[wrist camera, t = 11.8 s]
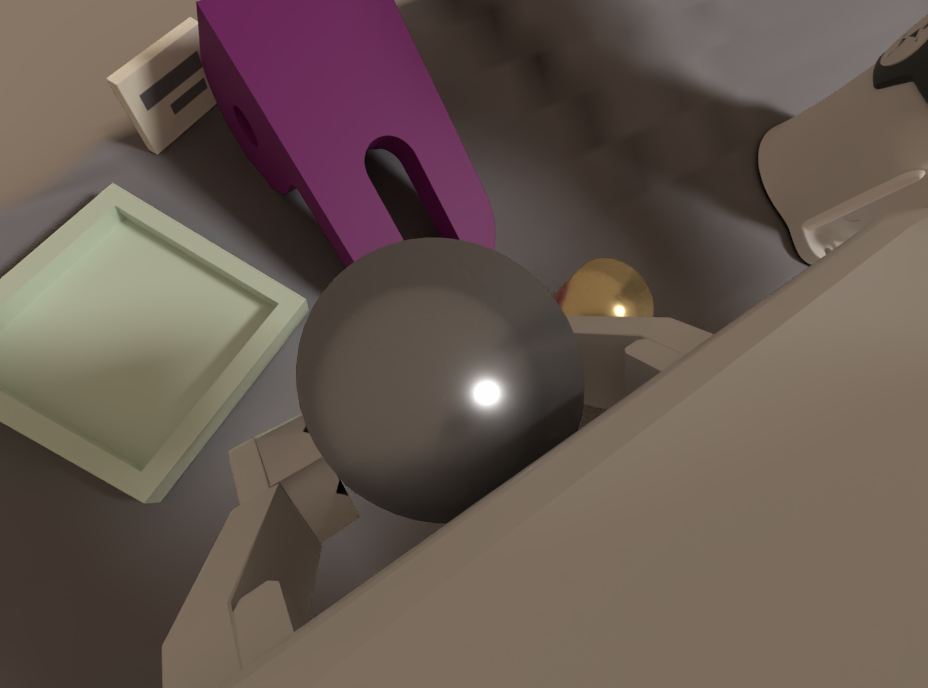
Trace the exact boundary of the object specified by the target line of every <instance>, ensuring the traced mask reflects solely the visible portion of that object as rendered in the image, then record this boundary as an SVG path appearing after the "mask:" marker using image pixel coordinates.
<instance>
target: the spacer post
mask: <svg viewBox="0 0 928 688" xmlns="http://www.w3.org/2000/svg"><path fill="white" fill-rule="evenodd" d="M296 384H297V392H298V398H299V404H300V409H301V412H302V415H303V418H304V421H305V425H306V427H307V429H308V432H309V434H310V436H311V438H312V440H313V442H314V444H315V446H316V448H317V449H318V451H319V452H320V454H321V455H322V457H323V458H324V460H325V461H326V463H327V464H328V465H329V466H330V467H331V469H332V470H333V471H334V472H335V473H336V474H337V475H338V477H339V478H340V479H341V480H342V481H343V482H344V483H345V484H346V485H347V486H348V487H349V488H350V489H351V490H352V491H354V492H355V493H357V494H358V495H360V496H362V497H363V498H365V499H367V500H368V501H370V502H371V503H373V504H375V505H376V506H379V507H381V508H383V509H385V510H388V511H390V512H392V513H394V514H396V515H400V516H404V517H407V518H411V519H414V520H418V521H425V522H433V523H448V522H450V521H451V520H453V519H454V518H455V517H457V516H458V515H460V514H461V513H462V512H464V511H465V510H467V509H468V508H469V507H471V506H472V505H474V504H475V503H476V502H478V501H479V500H481V499H482V498H483V497H485V496H486V495H488V494H489V493H491V492H492V491H493V490H495V489H496V488H498V487H499V486H500V485H502V484H503V483H505V482H506V481H507V480H509V479H510V478H512V477H513V476H515V475H516V474H517V473H519V472H520V471H522V470H523V469H524V468H526V467H527V466H529V465H530V464H531V463H533V462H534V461H536V460H537V459H539V458H540V457H541V456H543V455H544V454H546V453H547V452H548V451H550V450H551V449H553V448H554V447H556V446H557V445H558V444H560V443H561V442H563V441H564V440H565V439H567V438H568V437H570V436H571V435H572V434H574V433H575V432H577V430H578V427H579V424H580V420H581V415H582V410H583V404H584V385H585V384H584V372H583V364H582V359H581V354H580V350H579V347H578V344H577V341H576V337H575V334H574V332H573V330H572V328H571V326H570V323H569V321H568V319H567V317H566V316H565V314H564V312H563V311H562V309H561V307H560V306H559V304H558V303H557V301H556V300H555V299H554V298H553V296H552V295H551V294H550V292H549V291H548V290H547V289H546V288H545V287H544V286H543V285H542V284H541V283H540V282H539V281H538V280H537V279H536V278H535V277H534V276H533V275H532V274H531V273H529V272H528V271H527V270H526V269H525V268H523V267H522V266H520V265H519V264H517V263H516V262H514V261H513V260H511V259H510V258H508V257H506V256H504V255H502V254H500V253H498V252H496V251H494V250H492V249H489V248H487V247H484V246H481V245H479V244H475V243H471V242H467V241H463V240H457V239H450V238H430V237H427V238H417V239H409V240H405V241H400V242H396V243H392V244H389V245H387V246H384V247H381V248H378V249H376V250H374V251H372V252H370V253H368V254H366V255H364V256H362V257H361V258H359V259H358V260H356V261H355V262H353V263H352V264H351V265H349V266H348V267H346V268H345V269H344V270H343V271H342V272H341V273H340V274H339V275H338V276H337V277H335V278H334V279H333V280H332V282H331V283H330V284H329V285H328V286H327V288H326V289H325V290H324V291H323V292H322V294H321V295H320V297H319V299H318V300H317V302H316V303H315V305H314V307H313V308H312V310H311V312H310V315H309V317H308V319H307V321H306V324H305V326H304V329H303V332H302V336H301V340H300V343H299V348H298V356H297V363H296Z"/></svg>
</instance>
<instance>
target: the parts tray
mask: <svg viewBox="0 0 928 688" xmlns="http://www.w3.org/2000/svg"><path fill="white" fill-rule="evenodd" d="M308 312H309V309H308V305H307V301H306V299H305V298H303V297H302V296H300V295H298V294H297V293H295V292H293V291H292V290H290V289H288V288H287V287H285V286H283V285H282V284H280V283H278V282H277V281H275V280H273V279H272V278H270V277H268V276H267V275H265V274H263V273H262V272H260V271H258V270H257V269H255V268H253V267H252V266H250V265H248V264H247V263H245V262H243V261H242V260H240V259H238V258H237V257H235V256H233V255H232V254H230V253H228V252H227V251H225V250H223V249H222V248H220V247H219V246H217V245H215V244H214V243H212V242H210V241H209V240H207V239H205V238H204V237H202V236H200V235H199V234H197V233H195V232H194V231H192V230H190V229H189V228H187V227H185V226H184V225H182V224H180V223H179V222H177V221H175V220H174V219H172V218H170V217H169V216H167V215H165V214H164V213H162V212H160V211H159V210H157V209H155V208H154V207H152V206H150V205H149V204H147V203H145V202H144V201H142V200H140V199H139V198H137V197H135V196H134V195H132V194H130V193H129V192H127V191H125V190H124V189H122V188H120V187H119V186H117V185H115V184H114V183H112V184H111V185H109V186H108V187H107V188H106V189H105V190H104V191H102V192H101V193H100V194H99V195H98V196H97V197H95V198H94V199H93V200H92V201H91V202H90V203H88V204H87V205H86V206H85V207H84V208H83V209H81V210H80V211H79V212H78V213H77V214H76V215H74V216H73V217H72V218H71V219H70V220H69V221H67V222H66V223H65V224H64V225H63V226H62V227H60V228H59V229H58V230H57V231H56V232H54V233H53V234H52V235H51V236H50V237H49V238H47V239H46V240H45V241H44V242H43V243H42V244H40V245H39V246H38V247H37V248H36V249H35V250H33V251H32V252H31V253H30V254H29V255H28V256H26V257H25V258H24V259H23V260H22V261H21V262H19V263H18V264H17V265H16V266H15V267H14V268H12V269H11V270H10V271H9V272H8V273H7V274H5V275H4V276H3V277H2V278H1V279H0V422H2V423H4V424H5V425H7V426H9V427H11V428H12V429H14V430H16V431H18V432H19V433H21V434H23V435H25V436H26V437H28V438H30V439H32V440H33V441H35V442H37V443H39V444H40V445H42V446H44V447H46V448H47V449H49V450H51V451H53V452H54V453H56V454H58V455H60V456H61V457H63V458H65V459H67V460H69V461H70V462H72V463H74V464H76V465H77V466H79V467H81V468H83V469H84V470H86V471H88V472H90V473H91V474H93V475H95V476H97V477H98V478H100V479H102V480H104V481H105V482H107V483H109V484H111V485H112V486H114V487H116V488H118V489H119V490H121V491H123V492H125V493H126V494H128V495H130V496H132V497H133V498H135V499H137V500H139V501H140V502H142V503H144V504H145V503H160V502H161V501H162V500H163V499H164V497H165V496H166V495H167V493H168V492H169V491H170V490H171V488H172V487H173V486H174V484H175V483H176V482H177V481H178V479H179V478H180V477H181V475H182V474H183V473H184V472H185V470H186V469H187V468H188V466H189V465H190V464H191V463H192V461H193V460H194V459H195V457H196V456H197V455H198V454H199V452H200V451H201V450H202V448H203V447H204V446H205V445H206V443H207V442H208V441H209V439H210V438H211V437H212V436H213V434H214V433H215V432H216V430H217V429H218V428H219V427H220V425H221V424H222V423H223V422H224V420H225V419H226V418H227V416H228V415H229V414H230V413H231V411H232V410H233V409H234V407H235V406H236V405H237V404H238V402H239V401H240V400H241V398H242V397H243V396H244V395H245V393H246V392H247V391H248V389H249V388H250V387H251V386H252V384H253V383H254V382H255V380H256V379H257V378H258V377H259V375H260V374H261V373H262V371H263V370H264V369H265V368H266V366H267V365H268V364H269V362H270V361H271V360H272V359H273V357H274V356H275V355H276V353H277V352H278V351H279V350H280V348H281V347H282V346H283V345H284V343H285V342H286V341H287V339H288V338H289V337H290V336H291V334H292V333H293V332H294V330H295V329H296V328H297V327H298V325H299V324H300V323H301V321H302V320H303V319H304V318H305V316H306V315H307V314H308Z"/></svg>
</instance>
